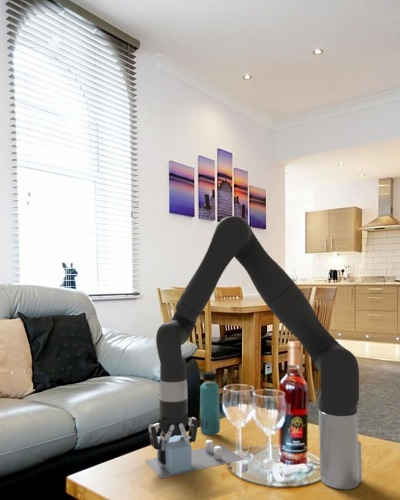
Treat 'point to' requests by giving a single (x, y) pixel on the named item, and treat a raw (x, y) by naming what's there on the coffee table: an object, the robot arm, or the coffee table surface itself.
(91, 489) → the coffee table surface
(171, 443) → the pale blue upright block
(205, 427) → the beverage bottle
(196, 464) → the stub board
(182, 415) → the robot arm
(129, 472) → the coffee table surface
